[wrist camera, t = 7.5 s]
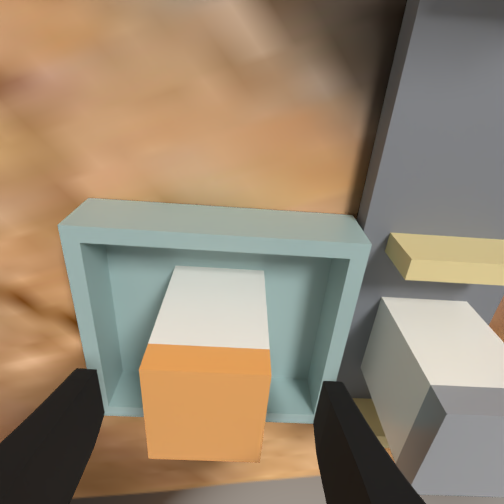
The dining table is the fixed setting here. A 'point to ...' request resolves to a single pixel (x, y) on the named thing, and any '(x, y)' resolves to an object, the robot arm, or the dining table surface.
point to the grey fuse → (439, 395)
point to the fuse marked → (208, 367)
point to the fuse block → (434, 175)
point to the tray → (216, 256)
